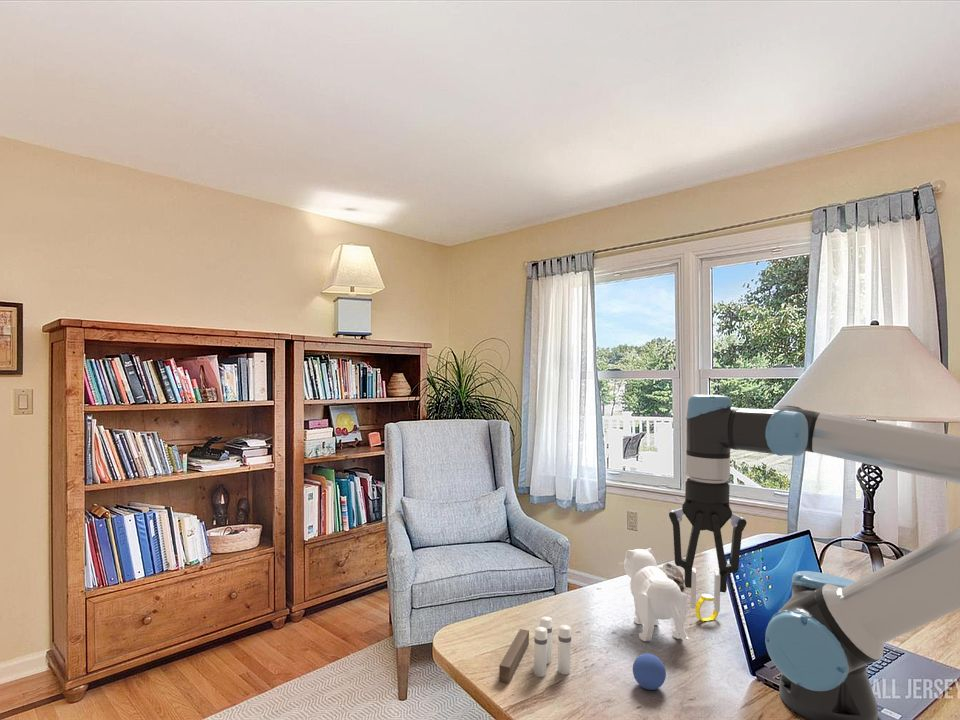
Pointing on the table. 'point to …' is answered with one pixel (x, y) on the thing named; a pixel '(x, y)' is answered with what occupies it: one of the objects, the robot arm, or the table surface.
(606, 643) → the table surface
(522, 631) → the back wall
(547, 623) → the pin
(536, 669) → the pin
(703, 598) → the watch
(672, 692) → the table surface
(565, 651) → the front pin
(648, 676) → the ball
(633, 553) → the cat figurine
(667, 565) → the mineral rock
